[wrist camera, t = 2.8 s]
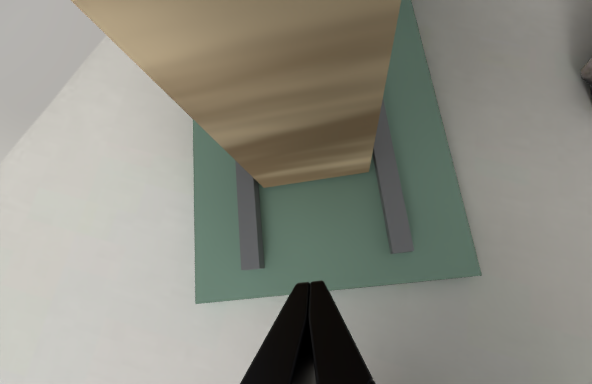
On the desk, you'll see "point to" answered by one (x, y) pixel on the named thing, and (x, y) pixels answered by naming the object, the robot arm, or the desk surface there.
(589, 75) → the geode
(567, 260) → the desk surface
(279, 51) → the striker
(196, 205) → the board
